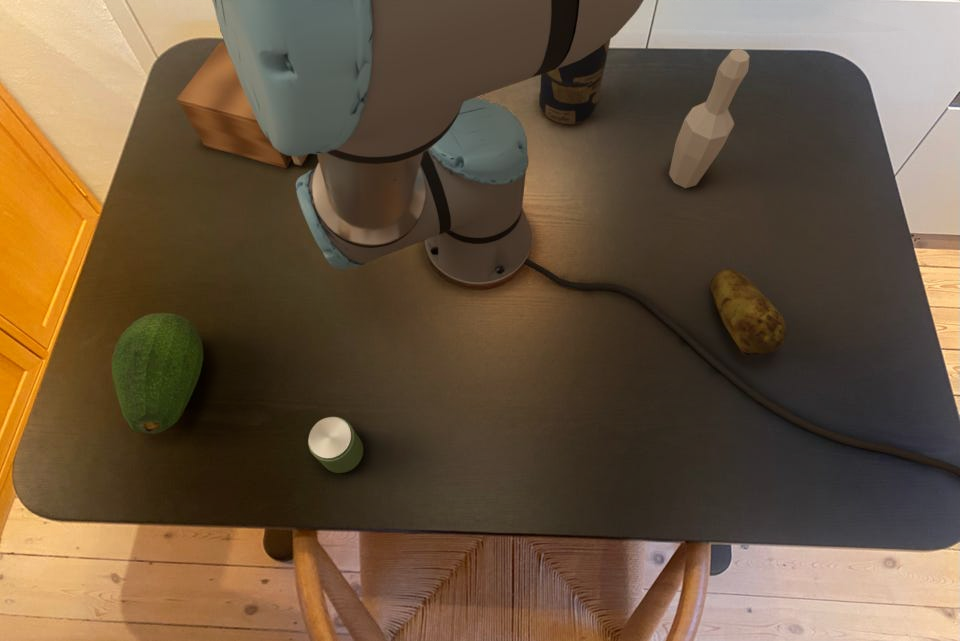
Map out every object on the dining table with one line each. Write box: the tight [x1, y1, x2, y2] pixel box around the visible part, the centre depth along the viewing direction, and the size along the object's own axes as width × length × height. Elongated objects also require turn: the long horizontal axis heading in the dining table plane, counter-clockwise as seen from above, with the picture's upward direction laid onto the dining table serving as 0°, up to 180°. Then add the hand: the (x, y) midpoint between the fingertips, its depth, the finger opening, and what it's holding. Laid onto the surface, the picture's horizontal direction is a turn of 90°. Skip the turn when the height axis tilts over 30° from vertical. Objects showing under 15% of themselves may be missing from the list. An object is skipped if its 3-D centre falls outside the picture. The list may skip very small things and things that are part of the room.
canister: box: [538, 39, 611, 125], centre depth 91 cm, size 10×10×18 cm
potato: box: [710, 268, 787, 357], centre depth 78 cm, size 8×13×8 cm, turn 171°
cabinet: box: [176, 41, 293, 169], centre depth 93 cm, size 15×13×10 cm
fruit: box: [111, 312, 204, 435], centre depth 73 cm, size 15×10×10 cm, turn 1°
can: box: [307, 416, 364, 474], centre depth 71 cm, size 5×5×6 cm
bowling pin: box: [668, 48, 751, 189], centre depth 83 cm, size 6×6×22 cm
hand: (324, 126), depth 92 cm, fingers closed
